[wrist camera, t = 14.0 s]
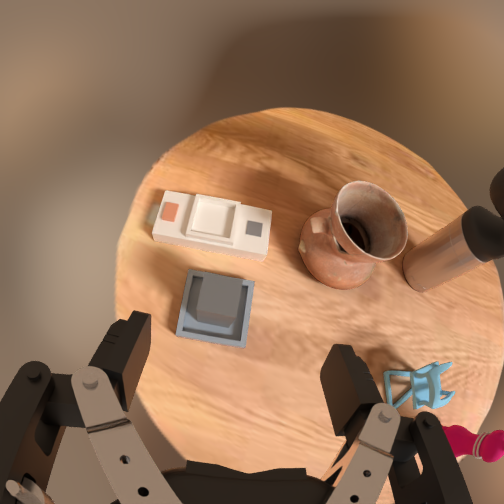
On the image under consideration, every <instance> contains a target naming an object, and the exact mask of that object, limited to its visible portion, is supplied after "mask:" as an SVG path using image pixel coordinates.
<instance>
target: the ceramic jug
mask: <svg viewBox="0 0 504 504" xmlns="http://www.w3.org/2000/svg"><path fill="white" fill-rule="evenodd" d="M407 238H408V231H407V222H406V219H405V216H404V214H403V212H402V210H401V208H400V207H399V205H398V203H397V202H396V201H395V199H394V198H393V197H391V195H390V194H389V193H387V192H386V191H385V190H383V189H382V188H380V187H378V186H377V185H375V184H373V183H369V182H366V181H353V182H350V183H348V184H346V185H344V186H343V187H342V188H341V189H340V190H339V192H338V193H337V195H336V197H335V199H334V201H333V204H332V207H331V208H327V209H323V210H320V211H318V212H316V213H314V214H313V215H311V216H310V217H309V218H308V220H307V221H306V222H305V224H304V226H303V228H302V231H301V236H300V244H299V247H298V250H299V252H300V255H301V257H302V259H303V262H304V264H305V265H306V267H307V269H308V270H309V271H310V273H311V274H312V275H313V276H314V277H315V278H316V279H317V280H318V281H320V282H321V283H323V284H325V285H327V286H329V287H331V288H335V289H341V290H347V289H353V288H356V287H358V286H360V285H362V284H363V283H365V282H366V281H367V280H368V279H369V278H370V276H371V275H372V273H373V271H374V269H375V266H376V263H378V262H383V261H387V260H390V259H393V258H395V257H396V256H398V255H399V254H400V253H401V252H402V250H403V249H404V247H405V245H406V243H407Z"/></svg>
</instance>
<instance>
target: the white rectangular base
mask: <svg viewBox="0 0 504 504" xmlns="http://www.w3.org/2000/svg"><path fill="white" fill-rule="evenodd" d="M240 203H241V202H237V201H232V200H227V199H222V198H217V197H211V196H206V195H200V194H196V196H195V195H190V194H184V193H178V192H172V191H165V194H164V196H163V199H162V202H161V205H160V208H159V212H158V215H157V218H156V221H155V224H154V227H153V231H152V235H153V238H154V241H157V242H162V243H167V244H172V245H177V246H183V247H188V248H193V249H198V250H203V251H208V252H214V253H219V254H224V255H229V256H235V257H240V258H245V259H251V260H256V261H261V262H263V261H264V259H265V258H266V256H267V251H268V243H269V234H270V226H271V217H272V210H267V209H262V208H257V207H252V206H247V205H243V204H240Z"/></svg>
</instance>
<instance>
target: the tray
mask: <svg viewBox="0 0 504 504" xmlns="http://www.w3.org/2000/svg"><path fill="white" fill-rule="evenodd" d="M204 273H205V272H201V271H196V270H191V269H189V270H188V275H187V279H186V284H185V289H184V294H183V299H182V304H181V309H180V314H179V319H178V324H177V330H176V336H177V337H182V338H187V339H192V340H198V341H203V342H208V343H214V344H220V345H226V346H232V347H239V348H245V347H246V340H247V333H248V326H249V318H250V311H251V304H252V297H253V289H254V282H255V281H250V280H244V279H242V280H243V283H242V288H241V294H240V300H239V305H238V311H237V316H236V319H235V320H234V321H233V323H232V324H231V325H230V327H229V328H226V327H221V326H216V325H211V324H206V323H201V322H198V320H197V310H196V309H197V304H198V300H199V295H200V291H201V286H202V282H203V277H204ZM237 279H239V278H237Z"/></svg>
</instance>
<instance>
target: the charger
mask: <svg viewBox="0 0 504 504" xmlns="http://www.w3.org/2000/svg"><path fill="white" fill-rule="evenodd" d="M242 283H243V280H242V279H237V278H233V277H228V276H223V275H218V274H214V273H209V272H205V273H204V277H203V282H202V286H201V291H200V295H199V300H198V304H197V309H196V310H197V320H198V322H201V323H206V324H211V325H216V326H221V327H226V328H229V327H230V325H231V324H232V323H233V321H234V320H235V319H236V316H237V311H238V305H239V300H240V294H241V288H242Z"/></svg>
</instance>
